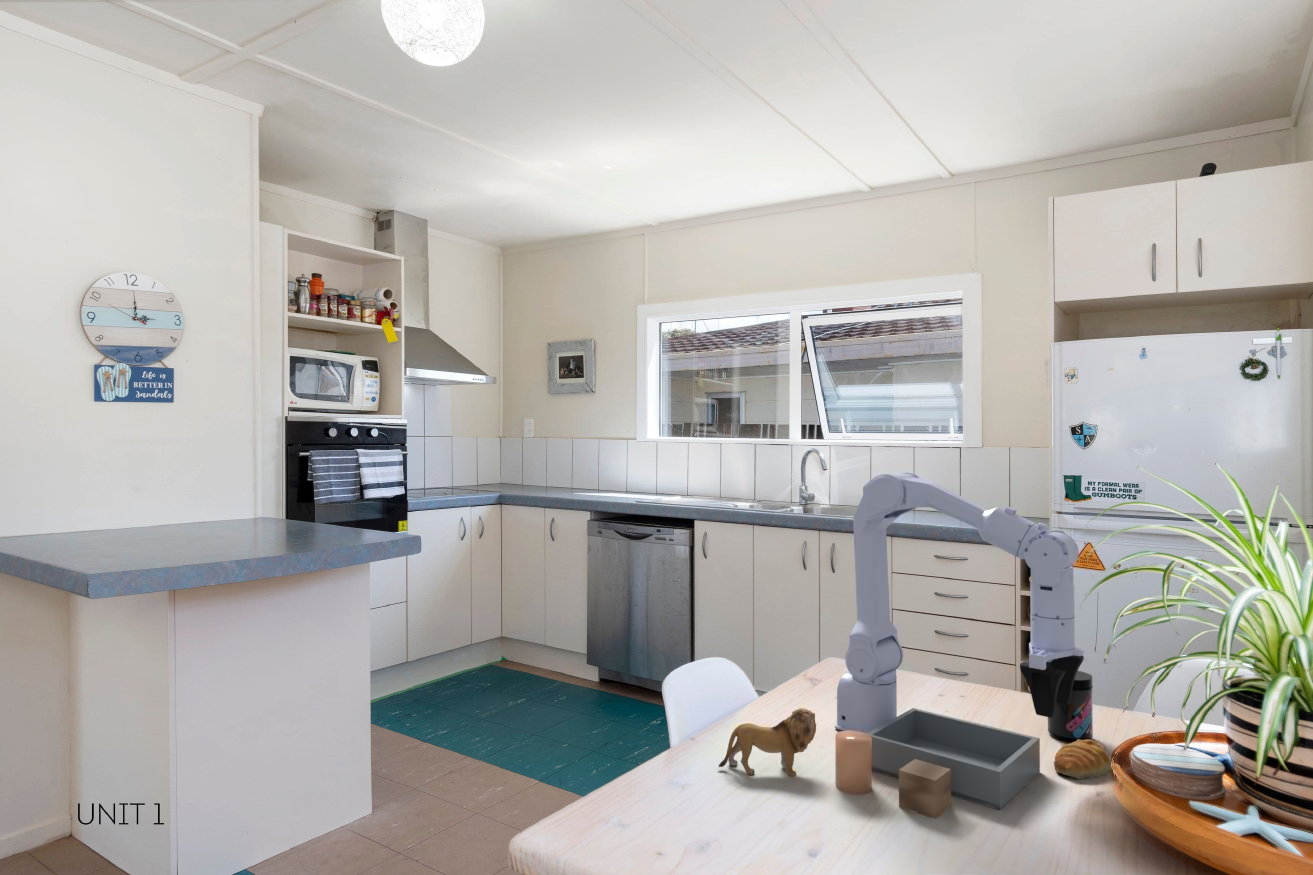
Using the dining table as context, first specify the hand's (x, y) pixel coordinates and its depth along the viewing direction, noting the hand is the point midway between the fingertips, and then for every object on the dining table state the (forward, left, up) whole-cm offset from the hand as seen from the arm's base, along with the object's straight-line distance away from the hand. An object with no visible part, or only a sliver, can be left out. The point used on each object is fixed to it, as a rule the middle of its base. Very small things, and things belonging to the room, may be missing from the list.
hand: (1052, 708), depth 112 cm
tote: (-12, -7, -10) cm, 17 cm away
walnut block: (-10, -21, -10) cm, 25 cm away
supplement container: (-3, +20, -10) cm, 23 cm away
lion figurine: (-32, -25, -10) cm, 42 cm away
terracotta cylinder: (-20, -22, -10) cm, 31 cm away
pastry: (+2, +7, -11) cm, 13 cm away
